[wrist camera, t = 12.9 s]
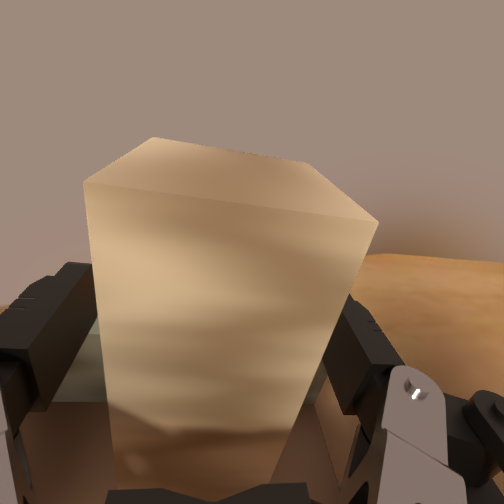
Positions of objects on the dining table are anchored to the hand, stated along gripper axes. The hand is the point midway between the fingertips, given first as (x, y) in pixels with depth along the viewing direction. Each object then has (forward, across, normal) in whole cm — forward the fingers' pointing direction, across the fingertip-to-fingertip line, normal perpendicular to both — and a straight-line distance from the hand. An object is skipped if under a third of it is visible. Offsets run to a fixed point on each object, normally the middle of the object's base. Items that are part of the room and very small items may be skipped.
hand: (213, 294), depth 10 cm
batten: (-2, 0, +9) cm, 9 cm away
